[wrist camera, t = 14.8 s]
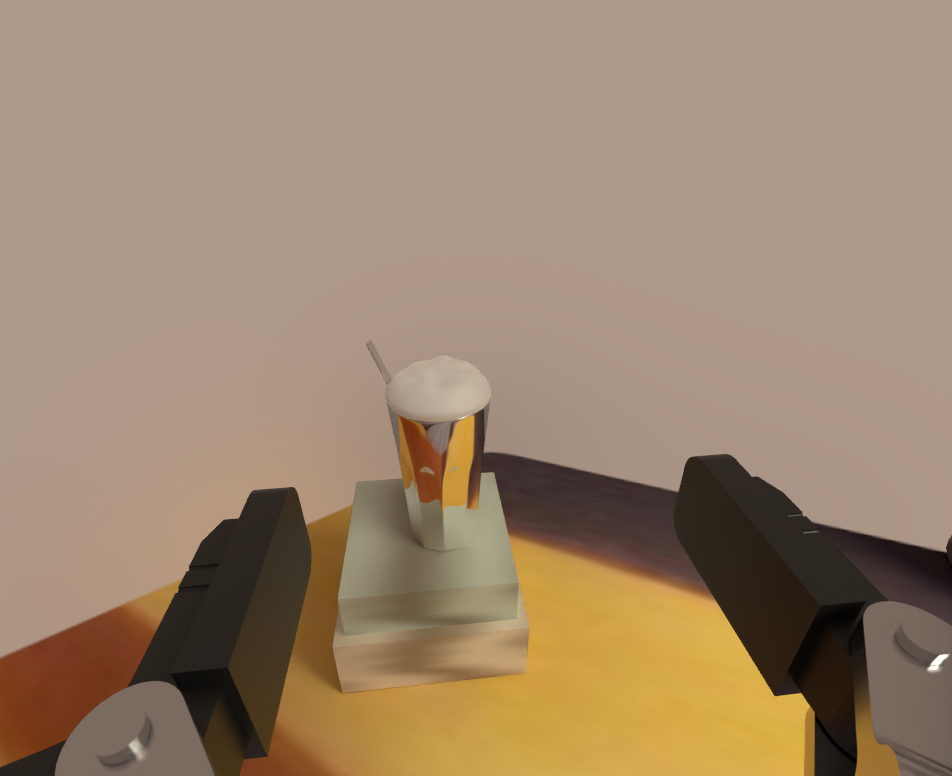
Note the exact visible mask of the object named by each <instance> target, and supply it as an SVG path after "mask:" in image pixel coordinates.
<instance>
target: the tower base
mask: <svg viewBox="0 0 952 776" xmlns="http://www.w3.org/2000/svg"><path fill="white" fill-rule="evenodd" d="M338 604H339V608H338V614H337V621H336V627H335V633H334V639H333V646H332V649H333V653H334V658H335V662H336V667H337V671H338V676H339V680H340V685H341V689H342V693H348V692H357V691H366V690H375V689H384V688H393V687H402V686H411V685H420V684H430V683H439V682H448V681H457V680H466V679H475V678H484V677H493V676H502V675H511V674H520V673H526V664H527V651H528V638H529V624H528V620H527V615H526V611H525V606H524V602H523V598H522V593H521V589H520V584H519V580H518V576H517V571H516V567H515V562H514V558H513V554H512V549H511V545H510V540H509V536H508V532H507V527H506V523H505V519H504V514H503V510H502V505H501V501H500V497H499V493H498V488H497V484H496V480H495V475H494V472H491V473H481V482H480V492H479V503H478V514H477V524H476V533H475V534H474V535H473V537H472V538H471V539H470V540H469V541H468V542H467V544H466V545H465V546H463V547H460V548H457V549H453V550H450V551H447V552H442V551H437V550H431V549H426V548H424V547H423V546H422V545H421V544H420V543H419V542H418V541H417V540H416V539H415V538H414V536H413V533H412V528H411V523H410V517H409V512H408V506H407V501H406V495H405V490H404V484H403V479H392V480H377V481H363V482H357V484H356V490H355V496H354V502H353V508H352V514H351V520H350V527H349V533H348V539H347V545H346V551H345V557H344V563H343V569H342V575H341V582H340V588H339V594H338Z"/></svg>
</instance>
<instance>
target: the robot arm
mask: <svg viewBox="0 0 952 776" xmlns="http://www.w3.org/2000/svg"><path fill="white" fill-rule="evenodd" d="M674 526H675V531H676V534H677V537H678V539H679V541H680V543H681V545H682V546H683V548H684V549H685V551H686V553H687V554H688V556H689V558H690V559H691V561H692V562H693V564H694V566H695V567H696V569H697V571H698V572H699V574H700V575H701V577H702V579H703V580H704V582H705V584H706V585H707V587H708V588H709V590H710V592H711V593H712V595H713V597H714V598H715V600H716V601H717V603H718V605H719V606H720V608H721V610H722V611H723V613H724V614H725V616H726V618H727V619H728V621H729V623H730V624H731V626H732V627H733V629H734V631H735V632H736V634H737V636H738V637H739V639H740V640H741V642H742V644H743V645H744V647H745V649H746V650H747V652H748V653H749V655H750V657H751V658H752V660H753V662H754V663H755V665H756V666H757V668H758V670H759V671H760V673H761V675H762V676H763V678H764V679H765V681H766V683H767V684H768V686H769V688H770V689H771V691H772V692H773V694H774V696H780V695H788V694H796V693H802V695H803V696H804V698H805V699H806V701H807V702H808V704H809V705H810V707H809V709H808V711H807V713H806V718H805V759H804V776H952V627H951V626H950V625H949V624H947V623H946V622H944V621H943V620H941V619H939V618H938V617H936V616H934V615H932V614H930V613H928V612H926V611H924V610H921V609H919V608H916V607H914V606H910V605H907V604H903V603H898V602H890V601H888V600H887V599H886V598H885V597H884V596H883V595H882V594H881V593H880V592H879V591H878V590H877V589H876V588H875V587H874V586H873V585H872V584H871V583H870V582H869V581H868V579H867V578H866V577H865V576H864V575H863V574H862V573H861V572H860V571H859V570H858V569H857V568H856V567H855V566H854V565H853V564H852V563H851V562H850V561H849V560H848V559H847V558H846V557H845V556H844V555H843V554H842V553H841V552H840V551H839V550H838V549H837V548H836V546H835V545H834V544H833V543H832V542H831V541H830V540H829V539H828V538H827V537H826V536H825V535H824V534H823V533H821V534H820V533H819V531H818V528H817V527H816V526H815V525H814V524H813V523H812V522H811V521H810V520H809V519H808V518H807V517H804V516H803V515H802V511H801V510H799V508H798V507H797V506H796V505H795V504H794V503H793V502H792V501H791V500H790V499H789V498H788V497H787V496H786V495H785V494H784V493H783V492H781V491H780V490H778V489H776V488H775V487H773V486H772V485H770V484H768V483H767V482H765V481H764V480H762V479H761V478H759V477H751V476H750V475H749V473H748V472H747V471H746V470H745V469H744V468H743V467H742V466H741V465H740V464H739V463H738V461H737V460H736V459H735V458H734V457H732V456H731V455H728V454H721V455H708V456H695V457H691V458H689V459H688V460H687V462H686V465H685V468H684V473H683V476H682V480H681V485H680V489H679V493H678V497H677V501H676V505H675V509H674ZM946 549H947V556H948V559H949V561H950V562H951V564H952V536H951V538H950V539H949V541H948V544H947V547H946ZM310 570H311V546H310V540H309V536H308V532H307V528H306V525H305V521H304V517H303V513H302V509H301V505H300V501H299V497H298V493H297V491H296V489H295V488H294V487H288V488H276V489H262V490H254V491H252V492H251V493H250V495H249V497H248V499H247V502H246V504H245V506H244V508H243V510H242V513H241V515H240V517H239V519H229V520H223V521H222V522H221V523H220V524H219V525H218V526H217V527H216V528H215V529H214V530H213V531H212V532H211V533H210V534H209V535H208V536H207V537H206V538H205V539H204V540H203V541H202V542H201V544H200V546H199V548H198V550H197V552H196V554H195V556H194V558H193V560H192V562H191V564H190V566H189V571H187V572H186V574H185V576H184V577H183V579H182V581H181V583H180V585H179V587H178V588H179V591H178V593H175V595H174V597H173V599H172V601H171V603H170V605H169V607H168V609H167V611H166V613H165V615H164V617H163V619H162V621H161V623H160V625H159V627H158V629H157V631H156V633H155V635H154V637H153V639H152V641H151V643H150V645H149V647H148V649H147V651H146V653H145V655H144V657H143V659H142V661H141V663H140V665H139V667H138V669H137V670H136V672H135V674H134V676H133V678H132V680H131V682H130V683H129V685H128V687H127V688H125V689H123V690H121V691H119V692H117V693H116V694H114V695H112V696H110V697H109V698H108V699H106V700H105V701H103V702H102V703H100V704H99V705H98V706H97V707H96V708H94V709H93V710H92V711H91V712H90V713H89V714H88V715H87V716H86V717H85V718H84V719H83V720H82V721H81V722H80V723H79V724H78V726H77V727H76V728H75V729H74V730H73V732H72V733H71V735H70V736H69V738H68V739H67V740H65V741H62V742H60V743H58V744H56V745H54V746H51V747H49V748H47V749H44V750H42V751H39V752H37V753H34V754H32V755H29V756H27V757H25V758H22V759H20V760H17V761H15V762H12V763H10V764H7V765H5V766H3V767H0V776H239V775H240V772H241V768H242V764H243V760H244V759H250V758H258V757H266V756H268V751H269V747H270V743H271V739H272V734H273V730H274V726H275V721H276V717H277V713H278V709H279V704H280V700H281V696H282V691H283V687H284V683H285V679H286V674H287V670H288V666H289V662H290V657H291V653H292V649H293V644H294V640H295V636H296V632H297V627H298V623H299V619H300V614H301V610H302V606H303V602H304V597H305V593H306V589H307V584H308V580H309V576H310Z"/></svg>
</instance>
